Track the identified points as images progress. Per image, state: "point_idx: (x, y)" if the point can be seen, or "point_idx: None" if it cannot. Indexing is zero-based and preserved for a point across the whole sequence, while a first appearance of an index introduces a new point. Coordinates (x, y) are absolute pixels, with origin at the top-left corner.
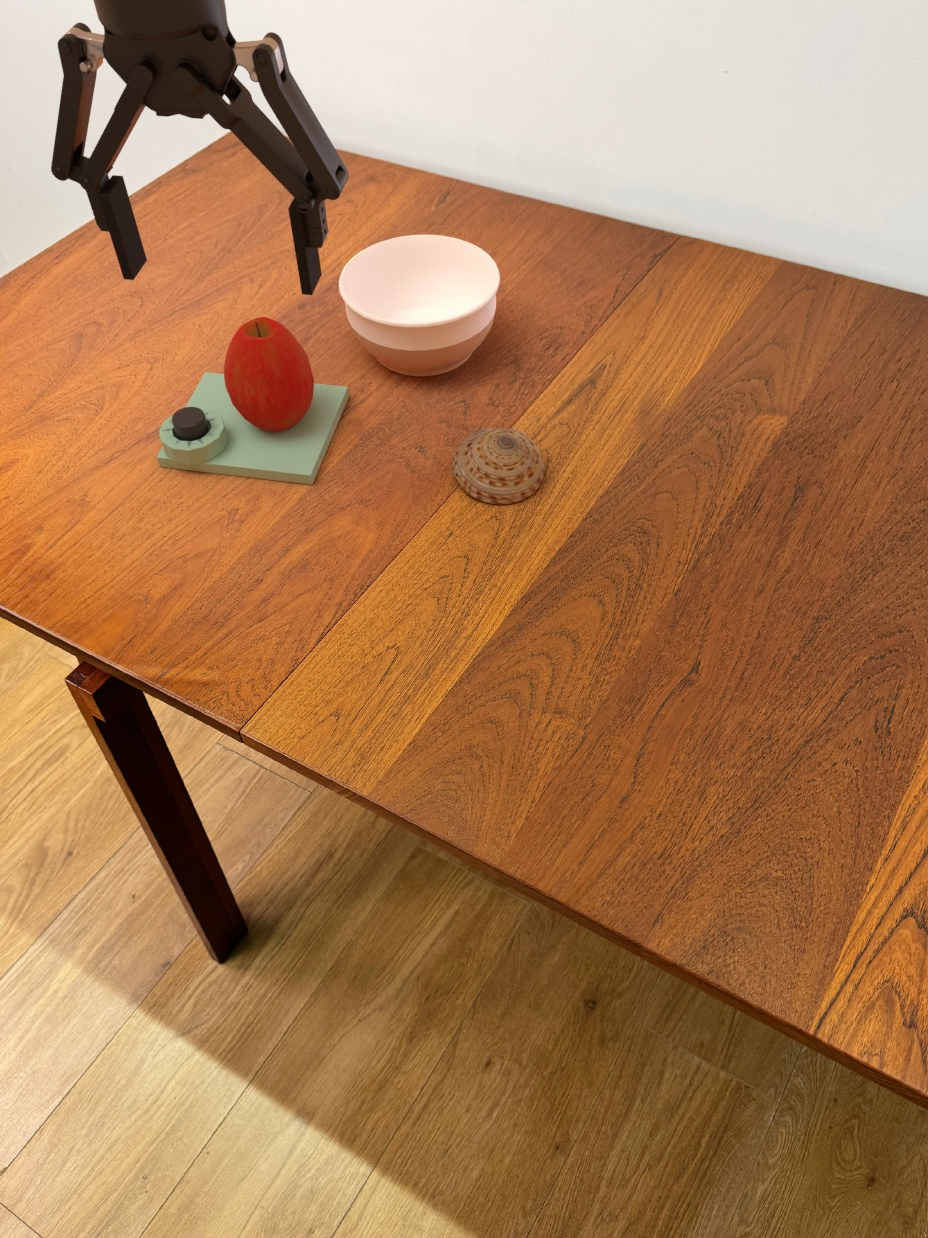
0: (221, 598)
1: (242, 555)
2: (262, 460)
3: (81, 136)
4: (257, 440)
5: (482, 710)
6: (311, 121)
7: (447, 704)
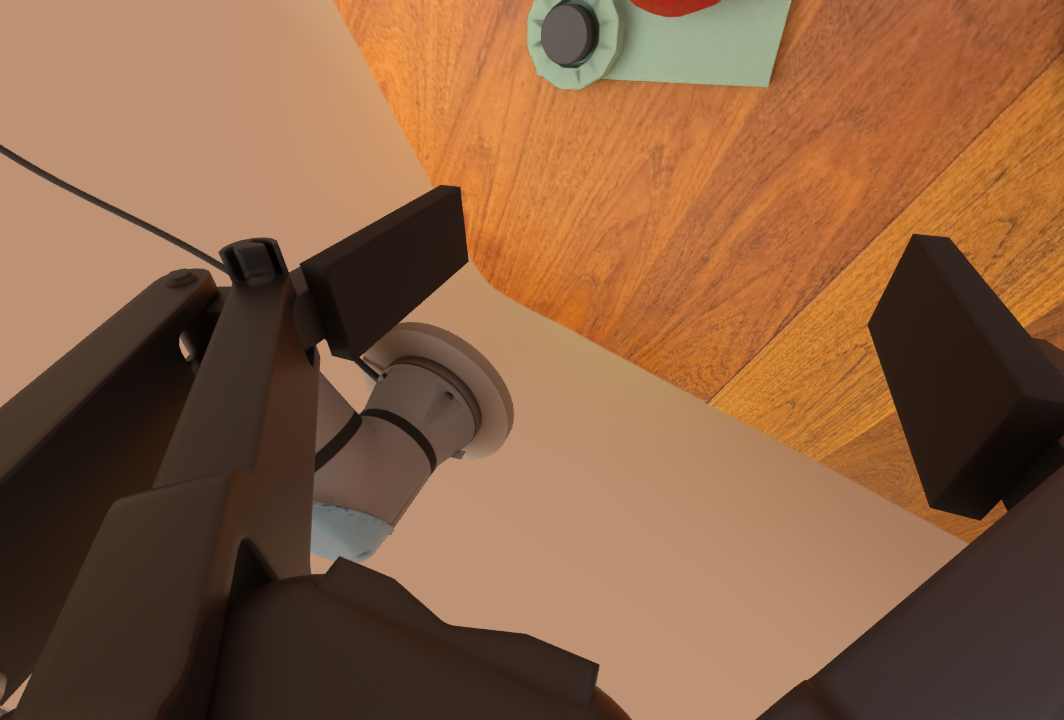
0: (666, 281)
1: (679, 224)
2: (686, 60)
3: (174, 375)
4: None
5: None
6: None
7: None
